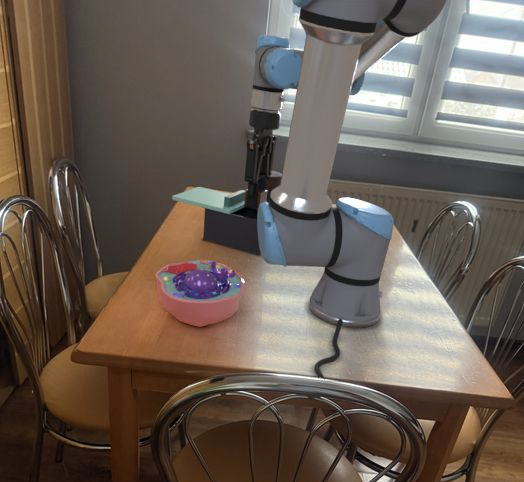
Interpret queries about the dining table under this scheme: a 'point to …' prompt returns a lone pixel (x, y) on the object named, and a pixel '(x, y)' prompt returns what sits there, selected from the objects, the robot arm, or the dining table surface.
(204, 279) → the cell model
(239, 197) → the lid
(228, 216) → the bin
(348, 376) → the dining table surface
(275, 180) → the pillar candle
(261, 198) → the block
